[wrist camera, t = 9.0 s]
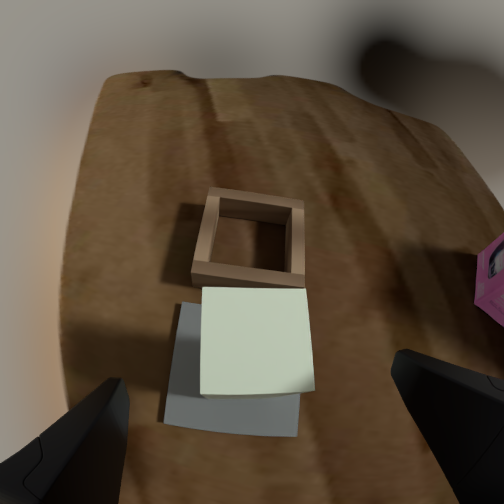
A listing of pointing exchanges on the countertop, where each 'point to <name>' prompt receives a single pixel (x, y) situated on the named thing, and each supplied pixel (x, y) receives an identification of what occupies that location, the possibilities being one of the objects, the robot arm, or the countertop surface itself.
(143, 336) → the countertop surface
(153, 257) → the countertop surface
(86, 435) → the robot arm
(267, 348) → the sage block
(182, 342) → the rubber mat
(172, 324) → the countertop surface
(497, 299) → the gum box
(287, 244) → the walnut holder
